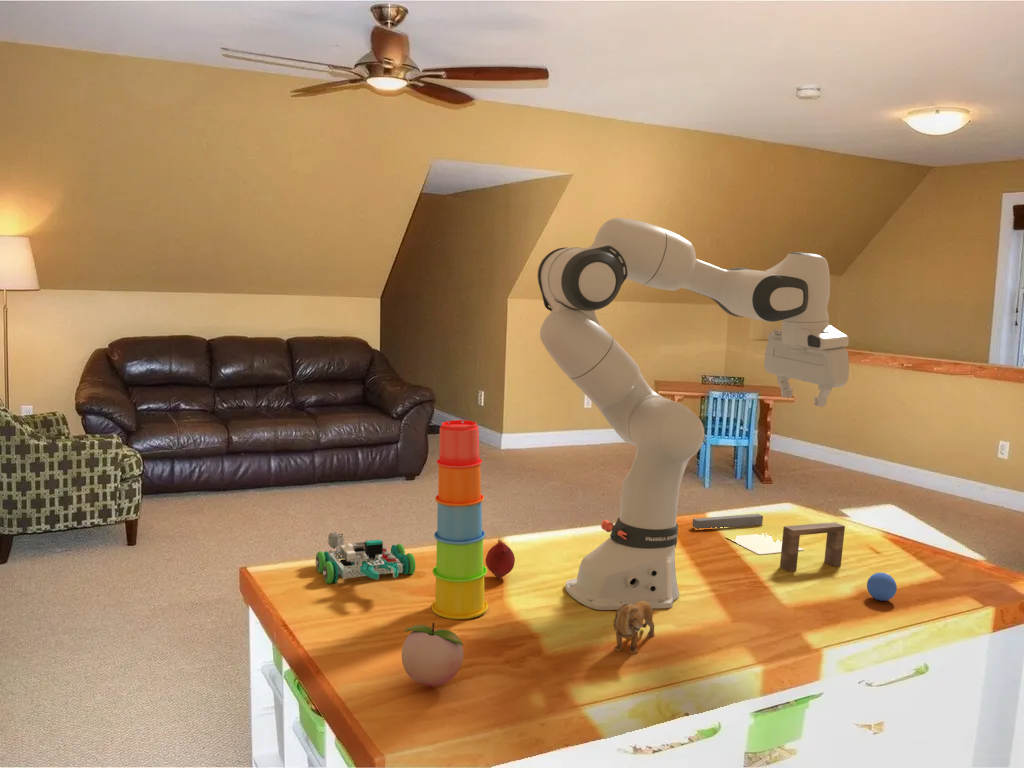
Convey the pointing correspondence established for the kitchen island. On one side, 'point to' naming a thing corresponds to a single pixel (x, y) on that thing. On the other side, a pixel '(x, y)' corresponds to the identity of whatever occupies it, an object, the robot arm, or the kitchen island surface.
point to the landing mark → (760, 544)
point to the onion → (500, 559)
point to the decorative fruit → (431, 655)
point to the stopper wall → (728, 521)
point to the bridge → (793, 533)
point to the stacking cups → (459, 524)
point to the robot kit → (362, 559)
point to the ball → (881, 586)
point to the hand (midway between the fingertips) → (803, 401)
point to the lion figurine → (632, 623)
